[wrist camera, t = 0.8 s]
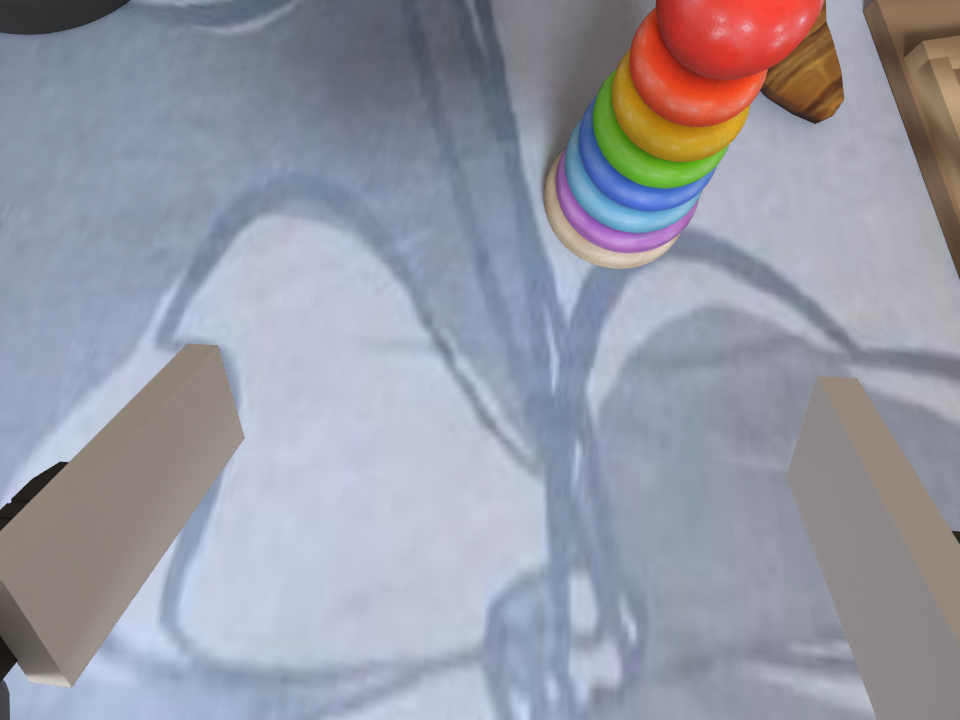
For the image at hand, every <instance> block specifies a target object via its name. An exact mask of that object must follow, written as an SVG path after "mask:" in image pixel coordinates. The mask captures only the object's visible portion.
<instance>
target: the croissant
mask: <svg viewBox="0 0 960 720" xmlns="http://www.w3.org/2000/svg"><path fill="white" fill-rule="evenodd" d="M761 91H762V92H763V94H764V95H765V96H766V97H767V98H768V99H770V100H771V101H773V102H774V103H776V104H778V105H779V106H781V107H782V108H784V109H785V110H787V111H788V112H790V113H792V114H793V115H796V116H798V117H800V118H803V119H805V120H807V121H810V122H812V123H814V124H816V123H819V122H821V121H823V120H825V119H827V118H830V117H832V116H833V115H834V114H835V112H836V111H837V109H838V108H839V106H840V105H841V103H842V102H843V100H844V93H843V83H842V73H841V68H840V65H839V61H838V57H837V54H836V50H835V46H834V43H833V39H832V36H831V33H830V30H829V28H828V25H827V22H826V0H824V3H823V6H822V9H821V11H820V14H819V16H818V18H817V19H816V21H815V23H814V25H813V26H812V28H811V30H810V31H809V33H808V34H807V35H806V37H805V38H804V39H803V41H802V42H801V43H800V44H799V45H798V46H797V47H796V48H795V49H794V50H793V51H792V52H791V53H790V54H789V55H788V56H787V57H785V58H784V59H783V60H781V61H780V62H778V63H777V64H775V65H774V66H772V67H771V68H768V71H767V75H766V79H765V81H764V83H763V86H762V88H761Z"/></svg>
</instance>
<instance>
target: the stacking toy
mask: <svg viewBox="0 0 960 720" xmlns="http://www.w3.org/2000/svg"><path fill="white" fill-rule="evenodd" d="M823 3H824V0H656V8H654V9H653V10H652V11H651V12H650V13H649V14H648V15H647V16H646V18H645V19H644V20H643V21H642V23H641V24H640V26H639V28H638V30H637V32H636V34H635V36H634V38H633V42H632V46H631V48H630V49H629V50H628V51H627V53H626V54H625V55H624V57H623V58H622V60H621V61H620V63H619V65H618V67H617V69H616V70H615V71H613V72H612V73H611V74H610V75H609V76H608V78H607V79H606V80H605V82H604V83H603V85H602V87H601V89H600V90H599V93H598V95H597V96H596V97H595V98H594V99H593V101H592V102H591V103H590V105H589V106H588V108H587V110H586V111H585V113H584V116H583V117H582V118H581V120H580V121H579V122H578V124H577V125H576V126H575V128H574V130H573V132H572V134H571V136H570V139H569V141H568V144H567V146H566V148H565V149H564V150H563V151H562V152H561V153H560V154H559V156H558V157H557V158H556V159H555V161H554V162H553V164H552V166H551V168H550V170H549V172H548V175H547V178H546V182H545V188H544V205H545V211H546V215H547V218H548V221H549V223H550V226H551V228H552V230H553V231H554V233H555V235H556V236H557V237H558V239H559V240H560V241H561V242H562V244H563V245H564V246H565V247H566V248H567V249H569V250H570V251H571V252H572V253H573V254H575V255H576V256H578V257H579V258H581V259H583V260H585V261H587V262H589V263H592V264H594V265H597V266H601V267H606V268H613V269H625V268H633V267H638V266H641V265H644V264H647V263H649V262H651V261H653V260H655V259H657V258H658V257H660V256H661V255H662V254H664V253H665V252H666V251H667V250H668V249H669V248H670V247H671V246H672V245H673V244H674V243H675V241H676V240H677V239H678V237H679V236H680V234H681V232H682V230H683V229H684V228H685V227H686V226H687V225H688V223H689V221H690V220H691V218H692V217H693V214H694V212H695V210H696V207H697V204H698V201H699V197H700V195H701V193H702V191H703V188H704V187H705V186H706V185H707V184H708V182H709V181H710V179H711V177H712V176H713V174H714V172H715V169H716V166H717V165H718V163H719V162H720V161H721V159H722V158H723V156H724V155H725V153H726V151H727V149H728V147H729V144H730V143H731V142H732V141H733V140H734V139H735V138H736V136H737V135H738V134H739V132H740V131H741V129H742V127H743V126H744V124H745V122H746V119H747V117H748V113H749V109H750V104H751V103H752V101H753V100H754V99H755V97H756V96H757V94H758V93H759V91H760V90H761V88H762V86H763V83H764V81H765V79H766V75H767V71H768V68H771V67H772V66H774V65H775V64H777V63H778V62H780V61H781V60H783V59H784V58H785V57H787V56H788V55H789V54H790V53H791V52H792V51H793V50H794V49H795V48H796V47H797V46H798V45H799V44H800V43H801V42H802V41H803V39H804V38H805V37H806V35H807V34H808V33H809V31H810V30H811V28H812V26H813V25H814V23H815V21H816V19H817V18H818V16H819V14H820V11H821V9H822V6H823Z"/></svg>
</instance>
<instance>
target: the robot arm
mask: <svg viewBox="0 0 960 720" xmlns="http://www.w3.org/2000/svg"><path fill="white" fill-rule="evenodd" d="M128 1H129V0H0V32H1V33H9V34H26V35H28V34H45V33H53V32H59V31H64V30H68V29H72V28H76V27H79V26H82V25H85V24H88V23H90V22H93V21H95V20H97V19H100V18H102V17H104V16H106V15H108V14H109V13H111V12H113V11H114V10H116V9H118V8H119V7H121V6H122V5H124V4H125V3H126V2H128ZM244 438H245V437H244V434H243V430H242V427H241V423H240V420H239V416H238V413H237V409H236V406H235V402H234V399H233V395H232V392H231V389H230V385H229V382H228V378H227V375H226V371H225V368H224V364H223V361H222V357H221V354H220V350H219V347H218V345H201V344H187V345H186V346H185V347H184V348H183V349H182V350H181V351H180V352H179V353H178V354H177V355H176V356H175V357H174V358H173V359H172V360H171V361H170V362H169V363H168V364H167V365H166V366H165V367H164V368H163V369H162V370H161V371H160V372H159V373H158V374H157V375H156V376H155V377H154V378H153V379H152V380H151V381H150V382H149V383H148V384H147V385H146V386H145V387H144V388H143V389H142V390H141V391H140V392H139V393H138V394H137V395H136V396H135V397H134V398H133V399H132V400H131V401H130V402H129V403H128V404H127V405H126V406H125V407H124V408H123V409H122V410H121V411H120V412H119V413H118V414H117V415H116V416H115V417H114V418H113V419H112V420H111V421H110V422H109V423H108V424H107V425H106V426H105V427H104V428H103V429H102V430H101V431H100V432H99V433H98V434H97V435H96V436H95V437H94V438H93V439H92V440H91V441H90V442H89V443H88V444H87V445H86V446H85V447H84V448H83V449H82V450H81V451H80V452H79V453H78V454H77V455H76V456H75V457H74V458H73V459H72V460H71V461H70V462H59V463H57V464H56V465H54V466H52V467H51V468H49V469H47V470H46V471H44V472H43V473H41V474H39V475H38V476H36V477H34V478H33V479H32V480H31V481H30V482H29V483H27V484H26V485H25V486H24V487H23V488H22V489H21V490H20V491H19V492H18V493H17V494H16V495H15V496H14V497H13V498H12V499H11V500H12V501H11V503H7V504H6V505H5V506H4V507H3V508H2V509H1V510H0V720H10V704H9V691H8V688H7V685H6V683H5V681H4V680H3V678H4V677H5V676H6V675H7V673H8V672H9V671H10V670H11V668H12V667H13V666H14V665H15V663H16V662H17V663H18V665H19V666H20V667H21V669H22V670H23V672H24V673H25V674H26V676H27V677H28V679H29V680H30V682H32V683H40V684H47V685H55V686H63V687H70V688H72V687H73V685H74V684H75V682H76V681H77V679H78V678H79V676H80V675H81V674H82V672H83V671H84V669H85V668H86V666H87V665H88V663H89V662H90V661H91V659H92V658H93V656H94V655H95V653H96V652H97V650H98V649H99V648H100V646H101V645H102V643H103V642H104V640H105V639H106V637H107V636H108V635H109V633H110V632H111V630H112V629H113V627H114V626H115V624H116V623H117V622H118V620H119V619H120V617H121V616H122V614H123V613H124V611H125V610H126V609H127V607H128V606H129V604H130V603H131V601H132V600H133V598H134V597H135V596H136V594H137V593H138V591H139V590H140V588H141V587H142V585H143V584H144V583H145V581H146V580H147V578H148V577H149V575H150V574H151V572H152V571H153V569H154V568H155V567H156V565H157V564H158V562H159V561H160V559H161V558H162V556H163V555H164V554H165V552H166V551H167V549H168V548H169V546H170V545H171V543H172V542H173V541H174V539H175V538H176V536H177V535H178V533H179V532H180V530H181V529H182V528H183V526H184V525H185V523H186V522H187V520H188V519H189V517H190V516H191V515H192V513H193V512H194V510H195V509H196V507H197V506H198V504H199V503H200V502H201V500H202V499H203V497H204V496H205V494H206V493H207V491H208V490H209V489H210V487H211V486H212V484H213V483H214V481H215V480H216V478H217V477H218V476H219V474H220V473H221V471H222V470H223V468H224V467H225V465H226V464H227V463H228V461H229V460H230V458H231V457H232V455H233V454H234V452H235V451H236V450H237V448H238V447H239V445H240V444H241V442H242V441H243V439H244ZM786 477H787V479H788V482H789V485H790V488H791V490H792V493H793V496H794V498H795V501H796V504H797V506H798V509H799V512H800V514H801V517H802V520H803V522H804V525H805V528H806V530H807V533H808V536H809V538H810V541H811V544H812V546H813V549H814V552H815V554H816V557H817V560H818V562H819V565H820V568H821V570H822V573H823V576H824V579H825V581H826V584H827V587H828V589H829V592H830V595H831V597H832V600H833V603H834V605H835V608H836V611H837V613H838V616H839V619H840V621H841V624H842V627H843V629H844V632H845V635H846V637H847V640H848V643H849V645H850V648H851V651H852V653H853V656H854V659H855V662H856V664H857V667H858V670H859V672H860V675H861V678H862V680H863V683H864V686H865V688H866V691H867V694H868V696H869V699H870V702H871V704H872V707H873V710H874V712H875V715H876V718H877V720H960V532H958V531H951V530H950V528H949V526H948V525H947V523H946V522H945V520H944V518H943V517H942V515H941V514H940V512H939V510H938V509H937V507H936V505H935V504H934V502H933V501H932V499H931V497H930V496H929V494H928V493H927V491H926V489H925V488H924V486H923V485H922V483H921V481H920V480H919V478H918V476H917V475H916V473H915V472H914V470H913V468H912V467H911V465H910V464H909V462H908V460H907V459H906V457H905V455H904V454H903V452H902V451H901V449H900V447H899V446H898V444H897V443H896V441H895V439H894V438H893V436H892V434H891V433H890V431H889V430H888V428H887V426H886V425H885V423H884V422H883V420H882V418H881V417H880V415H879V413H878V412H877V410H876V409H875V407H874V405H873V404H872V402H871V401H870V399H869V397H868V396H867V394H866V392H865V391H864V389H863V388H862V386H861V384H860V383H859V381H858V380H857V379H855V378H836V377H817V378H816V382H815V385H814V388H813V391H812V395H811V398H810V401H809V404H808V408H807V411H806V414H805V417H804V421H803V424H802V427H801V431H800V434H799V437H798V440H797V444H796V447H795V450H794V453H793V457H792V460H791V463H790V466H789V470H788V473H787V476H786Z"/></svg>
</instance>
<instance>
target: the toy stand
mask: <svg viewBox="0 0 960 720" xmlns="http://www.w3.org/2000/svg"><path fill="white" fill-rule="evenodd" d="M863 12H864V15H865V17H866V20H867V23H868V26H869V28H870V31H871V34H872V37H873V40H874V42H875V45H876V48H877V51H878V53H879V56H880V59H881V62H882V64H883V67H884V70H885V73H886V75H887V78H888V81H889V84H890V87H891V89H892V92H893V95H894V98H895V100H896V103H897V106H898V109H899V111H900V114H901V117H902V120H903V122H904V125H905V128H906V131H907V134H908V136H909V139H910V142H911V145H912V147H913V150H914V153H915V156H916V158H917V161H918V164H919V167H920V169H921V172H922V175H923V178H924V181H925V183H926V186H927V189H928V192H929V194H930V197H931V200H932V203H933V205H934V208H935V211H936V214H937V216H938V219H939V222H940V225H941V228H942V230H943V233H944V236H945V239H946V241H947V244H948V247H949V250H950V252H951V255H952V258H953V261H954V263H955V266H956V269H957V272H958V275H959V277H960V0H873V1H872V2H871V3H870V4H869V5H868V7H867V8H866V9H865V10H864V11H863Z"/></svg>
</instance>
